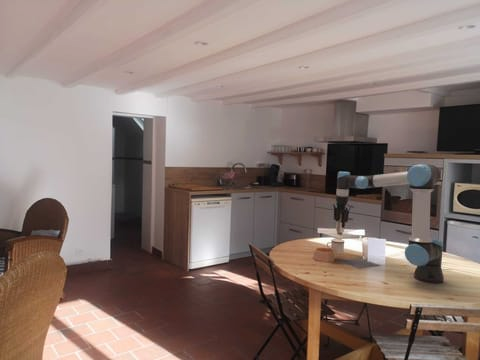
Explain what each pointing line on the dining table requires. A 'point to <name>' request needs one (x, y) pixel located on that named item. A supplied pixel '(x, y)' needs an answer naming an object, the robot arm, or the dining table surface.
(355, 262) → the mat
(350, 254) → the dining table surface
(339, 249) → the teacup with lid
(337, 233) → the lid
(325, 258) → the bowl
